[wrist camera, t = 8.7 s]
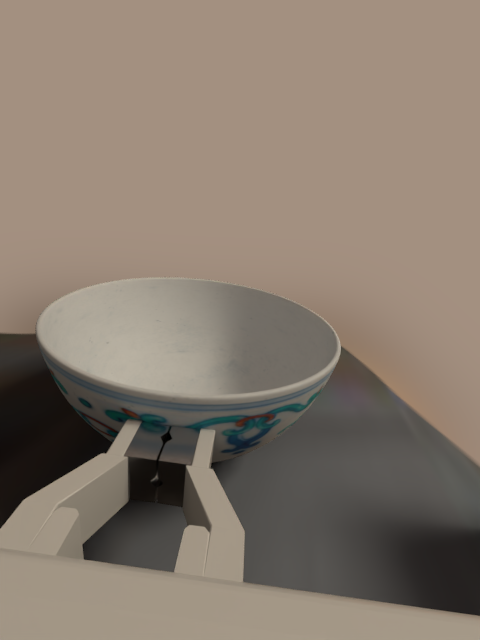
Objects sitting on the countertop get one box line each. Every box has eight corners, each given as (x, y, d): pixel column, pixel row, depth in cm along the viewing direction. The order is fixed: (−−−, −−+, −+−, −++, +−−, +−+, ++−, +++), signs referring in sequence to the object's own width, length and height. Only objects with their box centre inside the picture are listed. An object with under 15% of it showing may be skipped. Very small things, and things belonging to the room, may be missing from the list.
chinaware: (354, 446, 19) (392, 339, 16) (121, 663, 9) (113, 482, 6) (213, 349, 29) (221, 272, 26) (28, 401, 19) (9, 286, 16)
